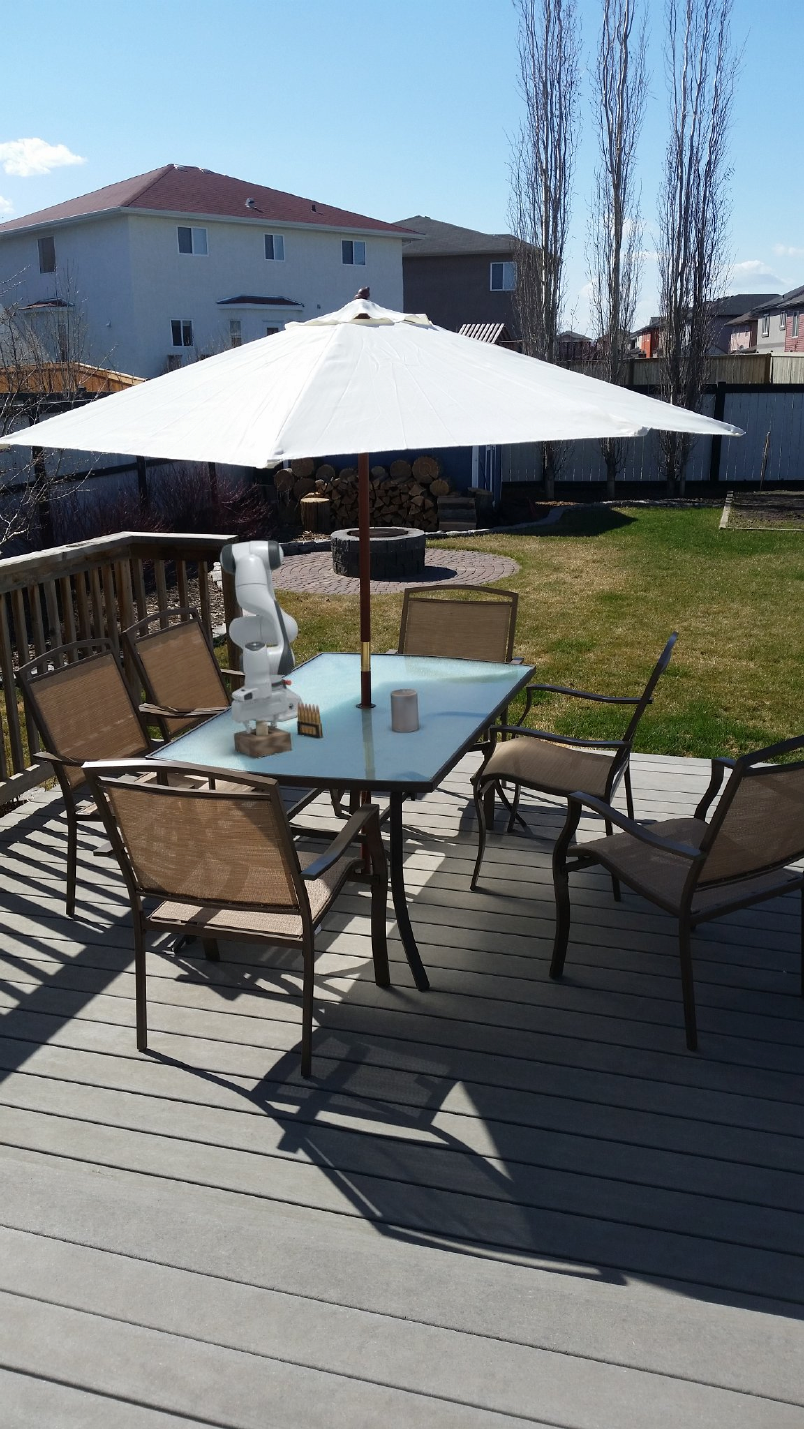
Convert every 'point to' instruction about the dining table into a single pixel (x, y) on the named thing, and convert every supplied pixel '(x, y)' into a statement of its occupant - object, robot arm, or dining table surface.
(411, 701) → the pillar candle
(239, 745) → the socket block
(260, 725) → the peg
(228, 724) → the dining table surface
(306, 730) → the ammunition clip
